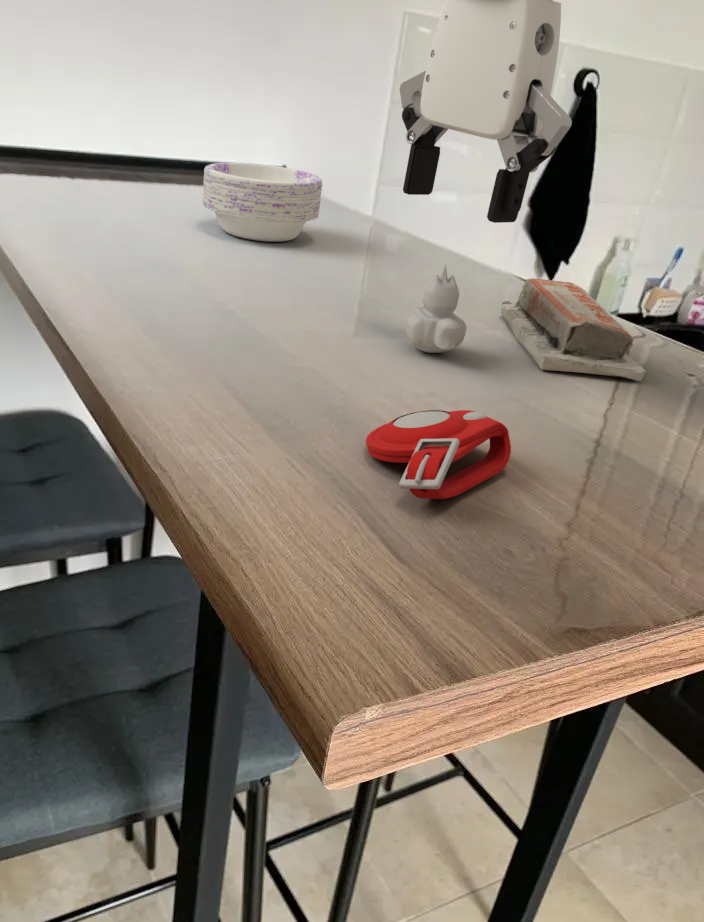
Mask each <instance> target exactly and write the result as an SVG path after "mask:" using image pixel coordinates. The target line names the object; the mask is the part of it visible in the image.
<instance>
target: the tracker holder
mask: <svg viewBox="0 0 704 922" xmlns="http://www.w3.org/2000/svg"><path fill="white" fill-rule="evenodd" d="M509 434H510V433H509V430H508V428H507V426H506V425H505V424H503V423H502V422H500V421H498V420H496V419H494V418H491V417H489V416H488V415H487V414H486V413H484V412H481V411H475V410H470V409H469V410H468V409H461V410H451V411H450V410H449V411H447V410H441V409H440V410H436V409H432V410H420V411H415V412H411V413H406V414H403V415H401V416H399V417H396V418H394V419H392V420H391V421H389V422H388V423H385V424H382V425H380V426H378V427H376V428H375V429H373V430H372V431H370V432H369V434H368V435H367V436H366V438H365V444H366V450H367V452H368V455H369V456H370V457H372V458H373V459H376V460H379V461H381V462H388V463H397V464H405V463H406V464H407V463H408V464H407V465H406V468H405V469H404V472H403V474H402V476H401V478H400V481H399V483H398V486H399V487H400V489H405V490H407V489H409V491H410V493H411V494H412V495H414V496H415V497H416V498H418V499H427V500H428V499H430V500H446V499H450V498H454V497H457V496H459V495H461V494H463V493H465V492H467V491H469V490H471V489H472V488H474V487H476V486H477V485H480V484H481V483H483V482H485V481H487V480H488V479H490V478H492V477H495V476H496V475H498V474H499V473H501V472H503V470H504V469H505V468H506V467H507V465H508V463H509V462H510V457H511V455H512V454H511V453H512V445H511V438H510V435H509ZM488 440H489V448H488V451H487V454H486V455H485V456H484V457H482V458H481V459H480V460H478V461H477V462H474V463H472V464H471V465H469V466H467V467H465V468H464V469H462V470H460V471H458V472H456V473H454V474H453V475H451V476H449V477H447V478H445V477H446V475H447V474H448V473H447V472H448V470H449V468H450V466H451V464H452V463H455V462H456V461H458V460H460V459H462V458H463V457H464V456H466V455H467V454H469V453H470V452H472V451H473V450H474V449H476V448H478V447H479V446H480V445H482V444H483V443H485V442H487V441H488Z"/></svg>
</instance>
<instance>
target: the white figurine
mask: <svg viewBox="0 0 704 922" xmlns="http://www.w3.org/2000/svg"><path fill="white" fill-rule="evenodd" d="M459 298H460V290H459V287H458V284H457V282H456V278H455V276H454V274H452V275H451V276H450V277H448V271H447V265H446V263H445V264H444V266H443V268H442V271H441V273H440V274H436V275H435V277H434V278H433V279H432V280H431V281H430V282H429V283H428V284H427V285H426V287H425V288H424V292H423V297H422V305H423V307H417V308H416V309H414V311H413V313H412V314H411V315H410V316H409V317H408V319H407V322H406V326H405V333H406V334H405V335H406V337H407V340H408V341H409V342H410V343H411V344H412V345H413V346H414V347H415V348H416V349H417V350H419V351H421V352H424V353H430V354H441V353H445V352H448V351H451V350H453V349H454V348H456V347H459V346H460V345H461V344H462V343H463V342H464V339H465V336H466V333H467V324H466V322H465V321H464V319H462V318H461V317H459V316H458V315H457V314H455V313H454V312H455V311H456V310H457V307H458V303H459V300H460V299H459Z"/></svg>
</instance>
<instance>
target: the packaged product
mask: <svg viewBox="0 0 704 922" xmlns="http://www.w3.org/2000/svg"><path fill="white" fill-rule="evenodd" d="M500 315H501V316H502V317H503V318H504V320H505V321H506V322H507V324H508V326H509V328H510V329H511V331H512V333H513V335H514V337H515V338H516V341H518V342H519V343H520V344H521V345H522V346H523V347H524V348H525V349H526V351H527V352H528V354H529V355H530V356H531V358H532V359H533V360H534V361H535V363H536V364H537V365H538V367H539V368H540V370H542V371H557V372H569V373H571V372H572V373H580V374H581V373H582V374H589V375H599V376H607V377H615V378H622V379H627V380H633V381H637V382H642V380H643V378H644V375H645V374H646V372H647V370H646V369H644V368H643V367H642V366H641V365H640V364H639V363H638V362H637V361H636V360H635V359H633V358H632V357H631V355H629V354H627V352H628V351H629V350H630V347H632V346H633V344H634V343H633V341H634V340H633V337H632V335H631V334H630V333H629V331H627V330H626V328H624V326H623V325H621V323H619V322H618V321H617V319H615V318H614V317H613V316H612V315H611V314H610V313H609V312H608V311H606V309H605V308H603V307H602V306H601V304H599V303H598V302H597V301H596V299H595V298H593V297H592V296H591V294H589V293H588V292H587V291H586V289H584V288H582V287H581V286H579V285H577V284H574V283H573V282H570V281H562V280H554V279H553V280H552V279H551V280H550V279H542V278H526V279H525V282H524V284H523V285H522V290H521V292H520V294H519V296H518V299H517V302H516V303H513V302H511V301H510V300H504V301H502V302H501V309H500Z"/></svg>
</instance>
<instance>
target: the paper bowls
mask: <svg viewBox="0 0 704 922" xmlns="http://www.w3.org/2000/svg"><path fill="white" fill-rule="evenodd" d="M203 172H204V173H203V185H202V187H203V188H202V189H203V190H202V200H203V201H202V205H203V206H204V207H205V208H206V209H208V210H210V211H212V212H214V214H215V218H216V220H217V224H218V225H219V227H220V229H221V230H223V231H224V232H225V233H227V234H229V235H232V236H235V237H237V238H240V239H241V238H242V239H245V240H251V241H257V242H269V243H270V242H272V243H273V242H275V243H276V242H278V243H279V242H287V241H292V240H294V239H296V238H297V237H298V236H299V235H300V233H301V231H302V230H303V228H304V226H305V224H306V222H309V221H314V220H317V219H318V218H319V215H320V206H321V200H322V199H321V198H322V197H321V195H322V191H323V180H322V178H321V177H320V176H318V175H317V174H313V173H311V172H308V171H304V170H301V169H296V168H295V169H294V168H291V167H286V166H278V165H270V164H263V163H252V162H250V163H249V162H217V163H216V162H215V163H210V164H207V165H205V166H204V169H203Z"/></svg>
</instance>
